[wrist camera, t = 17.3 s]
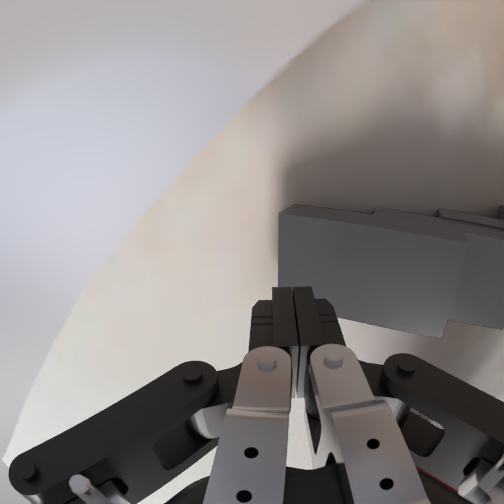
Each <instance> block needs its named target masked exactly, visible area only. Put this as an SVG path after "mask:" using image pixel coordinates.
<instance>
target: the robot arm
mask: <svg viewBox="0 0 504 504" xmlns="http://www.w3.org/2000/svg"><path fill="white" fill-rule="evenodd" d="M296 391H297V398H303V397H304V398H305V411H304V419H305V424H306V429H307V434H308V440H309V445H310V450H311V456H312V464H313V468H312V470H304V469H298V468H292V467H286V458H287V443H288V427H289V413H290V410H291V398H295V392H296ZM412 408H414V409H415V410H417V411H419V412H420V413H422V414H424V415H425V416H427V417H429V418H430V419H432V420H434V421H436V422H437V423H439V424H440V425H441V426H442V427H443V428H444V430H443V429H440V428H438V427H436V426H435V425H433V424H431V423H429V422H428V421H426V420H424V419H423V418H421V417H419V416H418V415H416V414H414V413H413V412H411V410H412ZM217 445H218V446H217ZM216 446H217V450H216V454H215V458H214V462H213V466H212V470H211V474H210V476H207V477H204V478H202V479H200V480H198V481H195V482H193V483H192V484H190V485H188V486H187V487H185V488H184V489H183V490H181V491H180V492H179V493H177V494H176V495H175V496H174V497H172V498H171V499H170V500H168V501H167V502H166V503H164V504H504V402H502V401H500V400H498V399H496V398H495V397H493V396H491V395H489V394H487V393H485V392H483V391H481V390H479V389H477V388H475V387H473V386H471V385H469V384H467V383H466V382H464V381H462V380H460V379H458V378H456V377H454V376H452V375H450V374H448V373H446V372H445V371H443V370H441V369H439V368H437V367H435V366H433V365H431V364H429V363H428V362H426V361H424V360H422V359H420V358H418V357H416V356H414V355H411V354H405V353H400V354H395V355H392V356H390V357H389V358H387V360H386V361H385V363H384V365H380V364H372V363H366V362H363V361H360V360H358V359H357V357H356V355H355V353H354V352H353V351H352V350H351V349H349V348H348V347H346V344H345V341H344V338H343V335H342V331H341V328H340V325H339V323H338V319H337V316H336V313H335V310H334V307H333V305H332V304H331V303H330V302H329V301H328V300H326V299H325V298H324V299H315V298H314V294H313V290H312V287H311V286H303V287H292V290H291V287H272V300H258V302H257V303H256V304H255V305H254V306H253V308H252V318H251V329H250V340H249V351H248V353H247V354H246V355H245V357H244V359H243V362H242V363H240V364H239V365H237V366H235V367H232V368H229V369H225V370H220V371H216V370H215V368H214V367H213V366H211V365H210V364H208V363H206V362H202V361H188V362H184V363H182V364H180V365H178V366H176V367H175V368H173V369H171V370H170V371H168V372H166V373H165V374H163V375H162V376H160V377H158V378H157V379H155V380H153V381H152V382H150V383H149V384H147V385H145V386H144V387H142V388H140V389H139V390H137V391H135V392H134V393H132V394H130V395H128V396H127V397H125V398H123V399H122V400H120V401H118V402H116V403H115V404H113V405H111V406H110V407H108V408H106V409H104V410H103V411H101V412H99V413H97V414H95V415H94V416H92V417H90V418H88V419H87V420H85V421H83V422H81V423H79V424H77V425H76V426H74V427H72V428H70V429H68V430H66V431H64V432H63V433H61V434H59V435H57V436H55V437H53V438H51V439H49V440H47V441H45V442H43V443H42V444H40V445H38V446H36V447H34V448H32V449H30V450H28V451H26V452H24V453H22V454H20V455H18V456H17V457H16V458H15V459H14V460H13V461H12V463H11V465H10V468H9V480H10V482H11V484H12V486H13V487H14V489H15V490H17V491H18V492H19V493H20V494H21V495H23V496H24V497H25V498H26V499H28V500H29V501H30V502H31V503H32V504H137V503H138V502H140V501H141V500H143V499H145V498H146V497H148V496H149V495H151V494H152V493H154V492H155V491H157V490H158V489H160V488H161V487H162V486H164V485H165V484H167V483H168V482H170V481H171V480H172V479H174V478H175V477H177V476H178V475H179V474H181V473H182V472H183V471H185V470H186V469H188V468H189V467H190V466H192V465H193V464H194V463H196V462H197V461H198V460H199V459H201V458H202V457H203V456H205V455H206V454H207V453H208V452H210V451H211V450H212V449H213V448H215V447H216ZM415 465H416V466H418V467H420V468H421V469H423V470H424V471H426V472H428V473H429V474H431V475H432V476H434V477H436V478H437V479H439V480H441V481H442V482H444V483H446V484H447V485H449V486H451V487H453V488H454V489H456V490H458V493H456V492H455V491H453V490H452V489H450V488H448V487H447V486H445V485H444V484H442V483H441V482H439V481H438V480H436V479H435V478H433V477H432V476H430V475H429V474H427V473H426V472H424V471H422V470H420V469H418V468H416V467H415Z"/></svg>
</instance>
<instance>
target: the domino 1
mask: <svg viewBox="0 0 504 504" xmlns="http://www.w3.org/2000/svg"><path fill="white" fill-rule="evenodd" d="M467 246H468V242H467V240H466V238H465V236H464V233H463V231H462V230H459V229H454V228H449V227H443V226H438V225H432V224H426V223H421V222H415V221H409V220H403V219H396V218H390V217H384V216H377V215H370V214H364V213H357V212H350V211H342V210H335V209H327V208H319V207H311V206H303V205H292V206H290V207H289V208H287V209H285V210H284V211H282V212H280V213H279V248H278V287H291V290H292V287H303V286H311V287H312V290H313V294H314V298H315V299H324V298H325V299H326V300H328V301H329V302H330V303H331V304H332V305H333V307H334V310H335V313H336V316H337V317H338V318H343V319H347V320H352V321H356V322H361V323H366V324H370V325H375V326H380V327H385V328H389V329H394V330H399V331H404V332H409V333H414V334H420V335H425V336H430V337H436V338H441V337H442V335H443V332H444V329H445V326H446V323H447V320H448V317H449V314H450V311H451V308H452V305H453V301H454V298H455V294H456V291H457V287H458V284H459V280H460V276H461V272H462V268H463V264H464V260H465V256H466V251H467Z"/></svg>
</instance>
